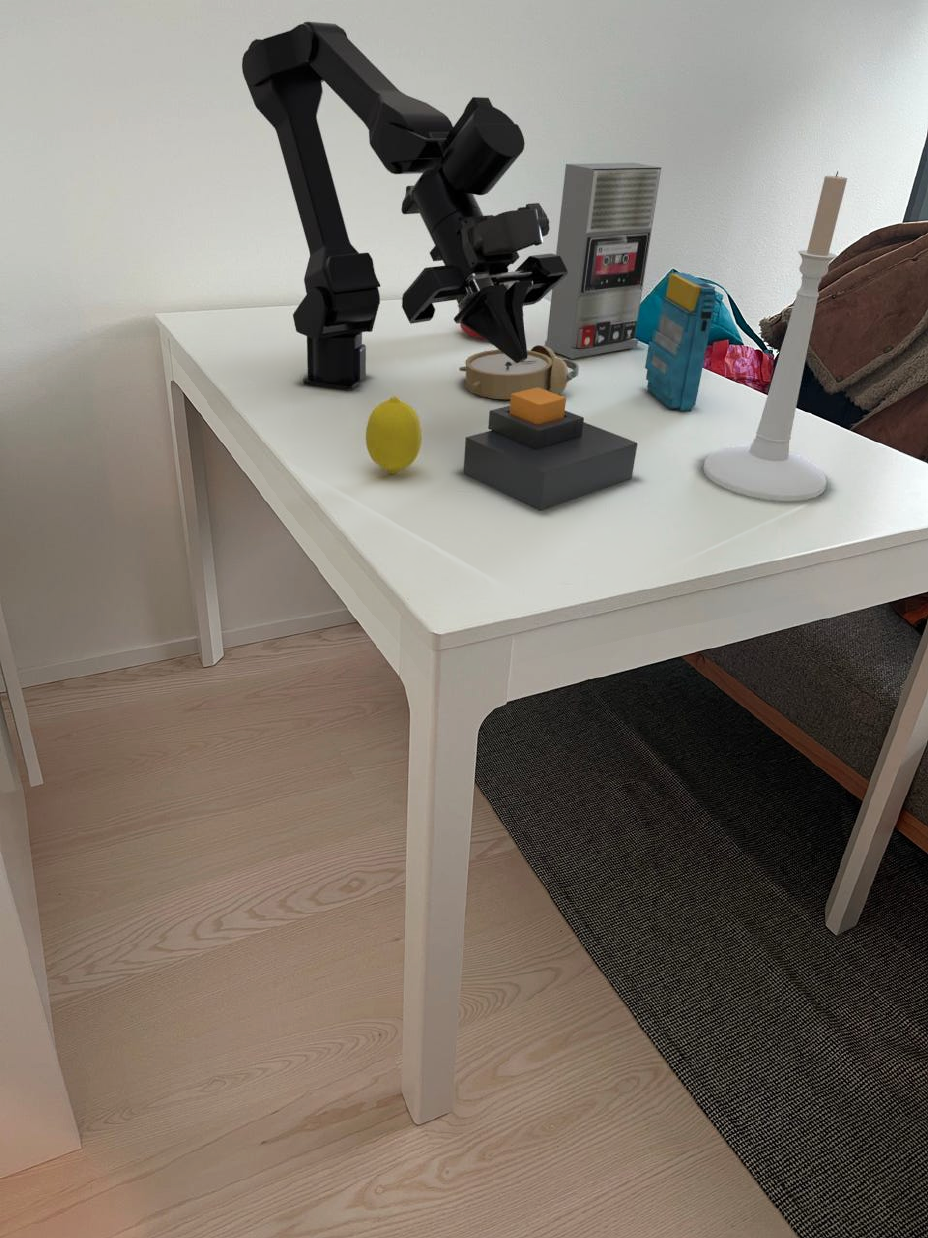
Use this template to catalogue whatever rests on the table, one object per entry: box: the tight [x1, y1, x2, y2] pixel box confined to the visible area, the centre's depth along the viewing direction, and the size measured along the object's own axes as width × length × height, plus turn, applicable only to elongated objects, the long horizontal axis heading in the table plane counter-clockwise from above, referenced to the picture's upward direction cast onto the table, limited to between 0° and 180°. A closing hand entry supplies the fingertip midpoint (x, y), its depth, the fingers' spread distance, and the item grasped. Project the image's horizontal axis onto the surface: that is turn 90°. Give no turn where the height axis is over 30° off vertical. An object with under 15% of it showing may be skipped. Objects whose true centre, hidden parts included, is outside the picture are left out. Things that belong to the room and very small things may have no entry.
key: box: [509, 387, 567, 425], centre depth 96 cm, size 4×4×2 cm
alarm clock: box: [459, 344, 580, 400], centre depth 122 cm, size 11×5×15 cm
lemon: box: [365, 396, 423, 475], centre depth 94 cm, size 6×6×8 cm
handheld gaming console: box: [644, 271, 717, 413], centre depth 119 cm, size 10×4×15 cm, turn 12°
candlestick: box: [702, 170, 848, 502], centre depth 94 cm, size 13×13×30 cm
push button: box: [462, 405, 638, 512], centre depth 97 cm, size 12×14×6 cm
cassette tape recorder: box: [544, 162, 662, 360], centre depth 135 cm, size 14×6×25 cm, turn 129°
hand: (522, 360), depth 96 cm, fingers closed
